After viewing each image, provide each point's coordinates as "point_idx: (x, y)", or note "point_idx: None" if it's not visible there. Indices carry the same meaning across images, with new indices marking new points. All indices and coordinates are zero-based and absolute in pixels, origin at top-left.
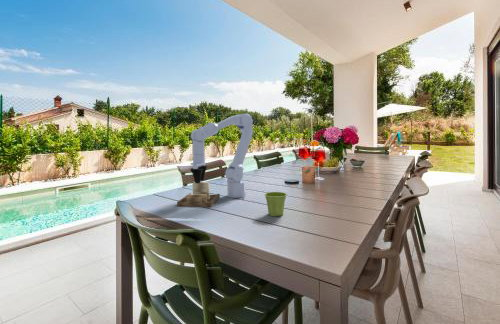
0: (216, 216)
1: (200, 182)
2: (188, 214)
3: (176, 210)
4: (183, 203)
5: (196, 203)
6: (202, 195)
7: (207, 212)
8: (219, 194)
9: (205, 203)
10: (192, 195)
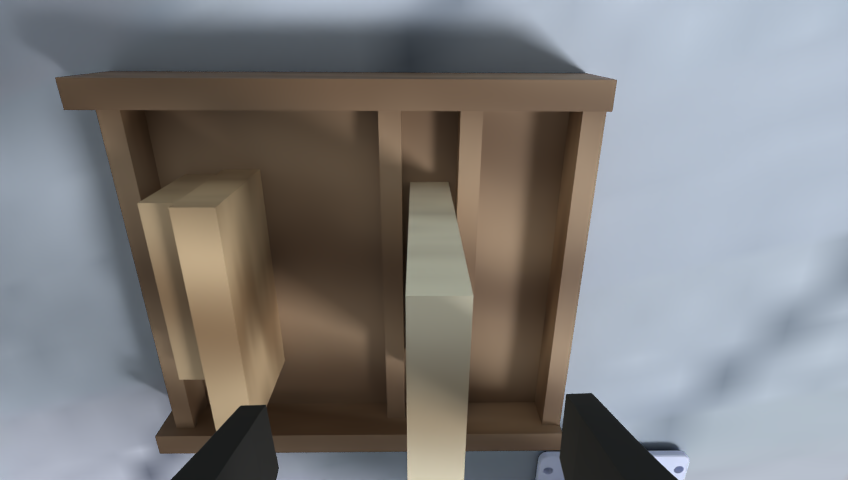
0: (10, 474)
1: (418, 432)
2: None
3: (38, 89)
4: (112, 157)
5: (149, 307)
6: (211, 397)
7: (85, 397)
8: (545, 445)
9: (168, 392)
10: (187, 279)
